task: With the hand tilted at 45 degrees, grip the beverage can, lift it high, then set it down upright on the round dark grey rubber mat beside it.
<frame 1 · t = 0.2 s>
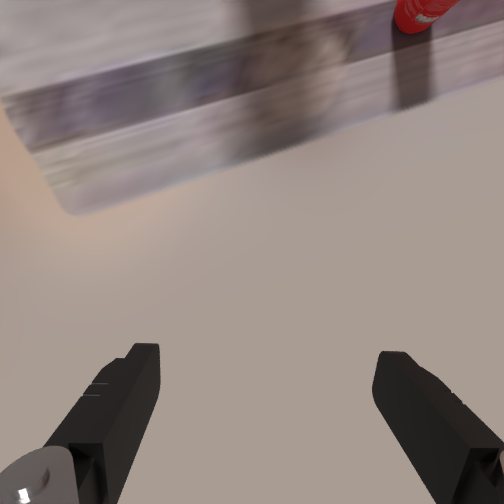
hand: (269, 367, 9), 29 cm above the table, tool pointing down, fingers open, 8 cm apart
beverage can: (410, 14, 32), on the table
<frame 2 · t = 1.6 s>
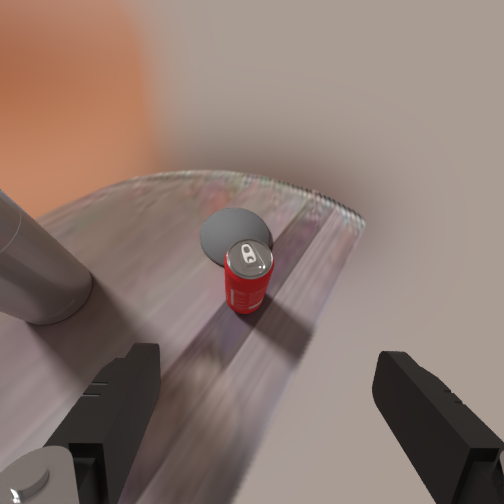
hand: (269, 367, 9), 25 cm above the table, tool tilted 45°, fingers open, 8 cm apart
rubber mat: (235, 237, 41), on the table
beverage can: (244, 298, 36), on the table
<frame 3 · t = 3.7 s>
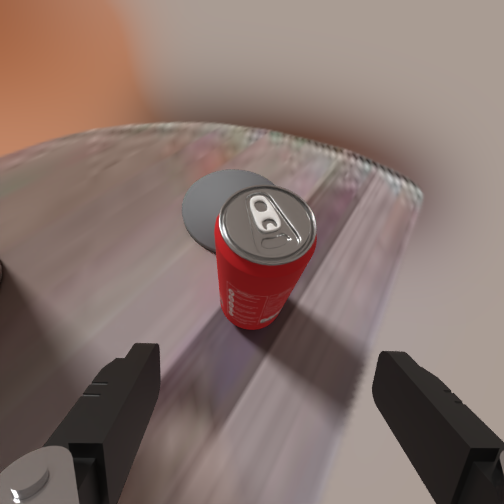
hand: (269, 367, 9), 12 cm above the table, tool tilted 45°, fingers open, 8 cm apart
rubber mat: (235, 211, 27), on the table
beverage can: (250, 303, 23), on the table
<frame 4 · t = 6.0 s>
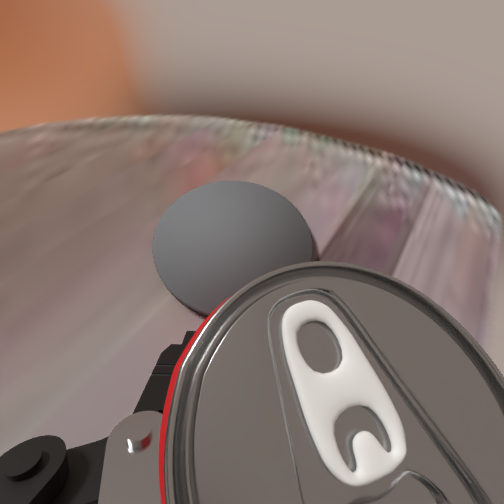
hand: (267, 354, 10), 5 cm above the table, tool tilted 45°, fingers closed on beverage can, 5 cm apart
rubber mat: (234, 244, 18), on the table
beverage can: (257, 408, 14), on the table, touching gripper
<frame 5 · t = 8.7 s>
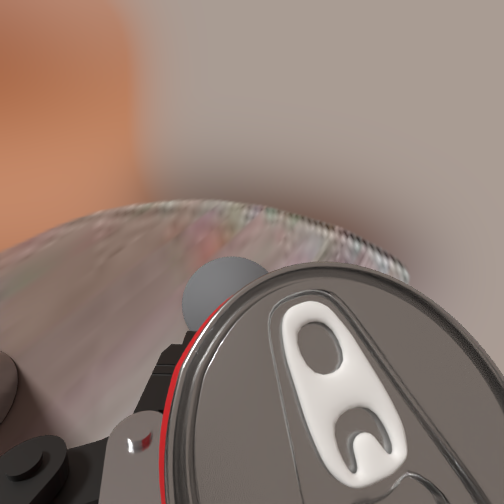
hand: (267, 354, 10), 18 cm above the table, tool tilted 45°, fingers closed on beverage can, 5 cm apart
rubber mat: (232, 301, 29), on the table
beverage can: (258, 408, 14), point 13 cm above the table, touching gripper
when the fingers open (7 cm above the table, at t = 11.8 s): beverage can drops 1 cm, resting on rubber mat.
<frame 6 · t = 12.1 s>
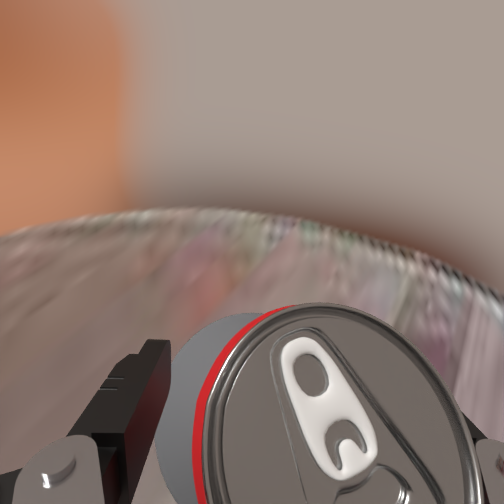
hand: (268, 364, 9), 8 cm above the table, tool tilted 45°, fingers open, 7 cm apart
rubber mat: (252, 406, 15), on the table
beverage can: (259, 411, 15), point 1 cm above the table, touching rubber mat
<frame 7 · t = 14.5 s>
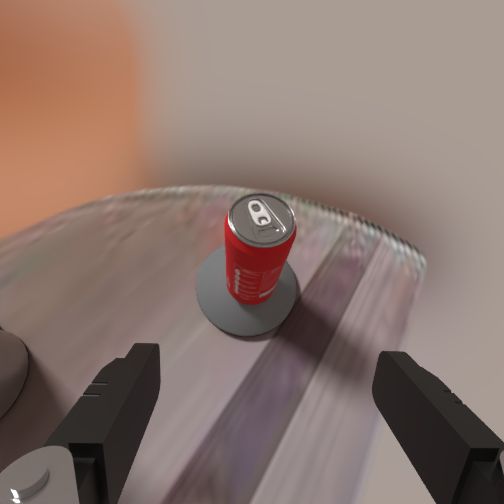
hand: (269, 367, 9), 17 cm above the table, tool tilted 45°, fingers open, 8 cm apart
rubber mat: (246, 286, 29), on the table
beverage can: (250, 285, 28), point 1 cm above the table, touching rubber mat
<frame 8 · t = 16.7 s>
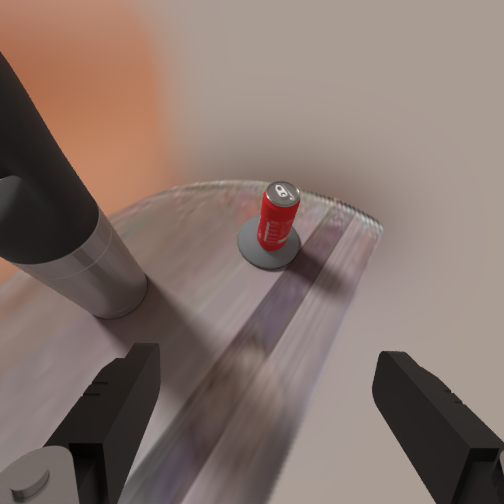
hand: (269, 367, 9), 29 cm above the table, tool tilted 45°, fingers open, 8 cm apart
rubber mat: (268, 241, 46), on the table
beverage can: (270, 241, 46), point 1 cm above the table, touching rubber mat
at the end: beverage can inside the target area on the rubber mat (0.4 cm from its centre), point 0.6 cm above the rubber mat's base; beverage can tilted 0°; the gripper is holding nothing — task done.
